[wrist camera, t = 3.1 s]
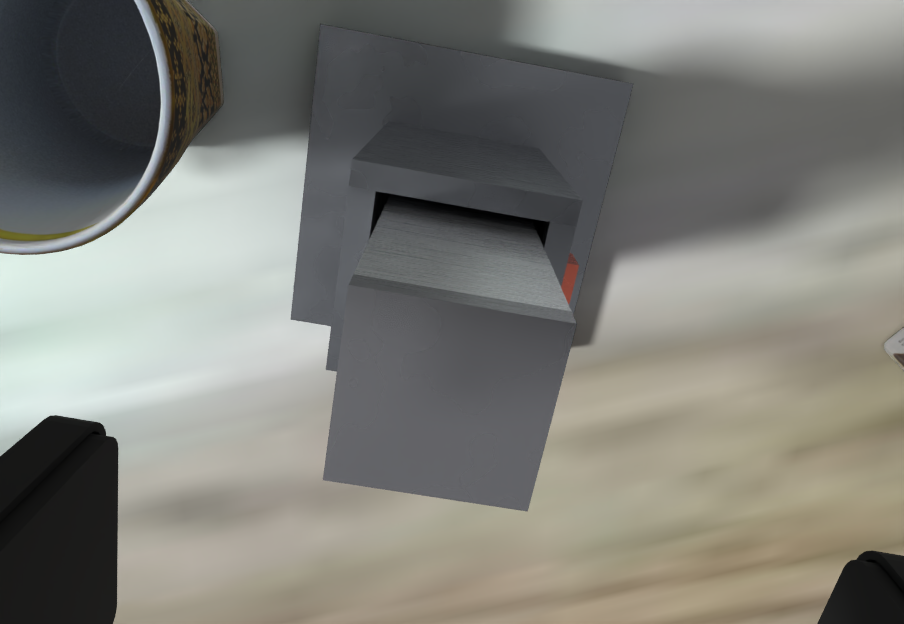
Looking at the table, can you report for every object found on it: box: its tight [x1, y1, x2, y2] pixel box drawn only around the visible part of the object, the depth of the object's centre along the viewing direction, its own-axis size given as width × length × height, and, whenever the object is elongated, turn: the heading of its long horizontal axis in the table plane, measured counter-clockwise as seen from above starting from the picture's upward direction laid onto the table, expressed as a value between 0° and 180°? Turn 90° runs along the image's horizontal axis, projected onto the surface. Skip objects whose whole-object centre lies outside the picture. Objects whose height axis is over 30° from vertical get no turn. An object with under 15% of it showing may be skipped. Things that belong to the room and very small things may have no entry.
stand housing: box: [291, 24, 633, 371], centre depth 24 cm, size 12×12×12 cm
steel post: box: [323, 194, 577, 511], centre depth 20 cm, size 4×4×16 cm
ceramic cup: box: [0, 0, 224, 255], centre depth 23 cm, size 13×10×10 cm
